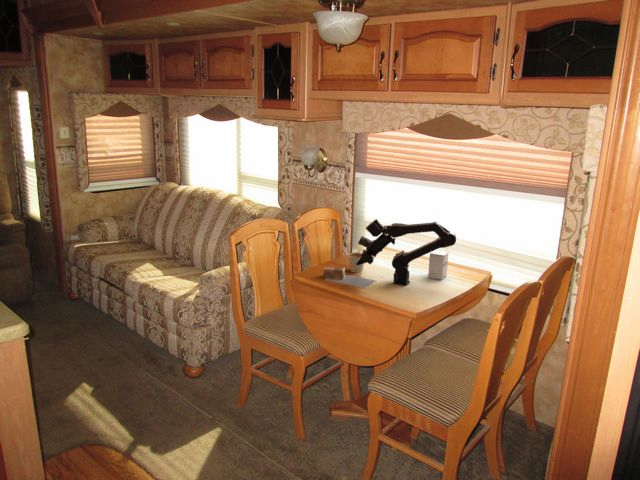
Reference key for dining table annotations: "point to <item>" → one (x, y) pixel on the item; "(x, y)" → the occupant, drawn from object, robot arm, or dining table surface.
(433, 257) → the supplement box
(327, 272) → the walnut block
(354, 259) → the flower pot
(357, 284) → the rubber mat
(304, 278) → the dining table surface
